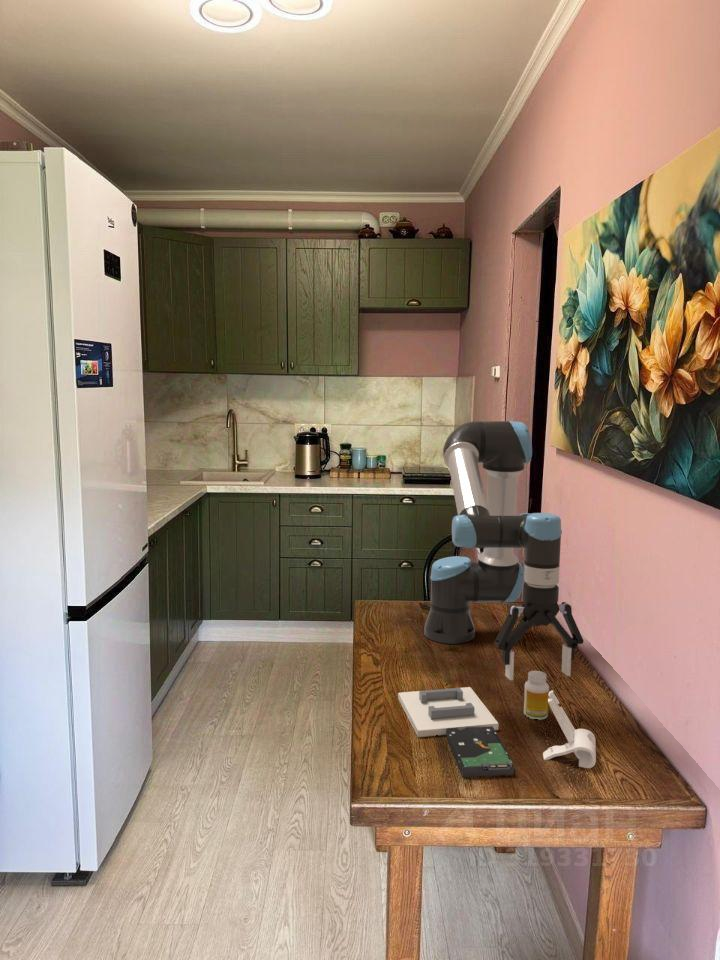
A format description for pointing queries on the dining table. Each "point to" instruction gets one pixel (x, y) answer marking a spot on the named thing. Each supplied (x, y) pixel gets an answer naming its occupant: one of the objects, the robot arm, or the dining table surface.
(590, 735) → the plastic part
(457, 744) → the disk drive
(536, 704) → the supplement bottle
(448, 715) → the bottle holder
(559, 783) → the dining table surface
